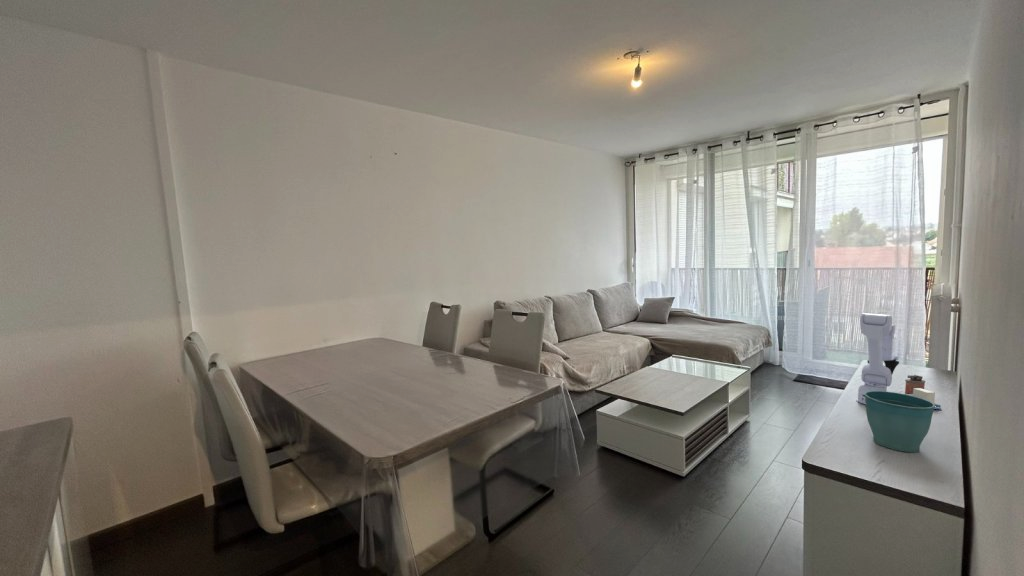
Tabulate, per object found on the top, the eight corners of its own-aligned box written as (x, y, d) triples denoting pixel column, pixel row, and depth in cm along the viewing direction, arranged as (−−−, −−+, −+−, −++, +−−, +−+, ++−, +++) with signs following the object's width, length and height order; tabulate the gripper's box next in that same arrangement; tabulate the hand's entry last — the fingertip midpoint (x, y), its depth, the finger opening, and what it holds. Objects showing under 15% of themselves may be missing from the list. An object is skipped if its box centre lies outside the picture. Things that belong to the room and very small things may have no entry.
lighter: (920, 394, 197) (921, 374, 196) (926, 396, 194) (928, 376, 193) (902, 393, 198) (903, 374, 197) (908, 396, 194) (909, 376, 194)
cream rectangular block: (926, 407, 179) (927, 392, 179) (912, 403, 185) (913, 388, 185) (933, 407, 180) (934, 392, 179) (919, 403, 185) (920, 388, 185)
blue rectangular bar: (930, 410, 177) (930, 408, 177) (927, 409, 178) (927, 407, 178) (940, 409, 177) (941, 408, 177) (938, 408, 178) (938, 407, 178)
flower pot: (861, 429, 157) (863, 387, 156) (927, 443, 145) (930, 397, 144) (862, 446, 143) (865, 400, 142) (935, 462, 131) (939, 412, 130)
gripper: (880, 350, 187) (878, 378, 188) (905, 348, 190) (904, 377, 191) (864, 347, 194) (863, 374, 195) (889, 345, 196) (888, 372, 197)
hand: (882, 375), depth 193 cm, fingers open, 7 cm apart
